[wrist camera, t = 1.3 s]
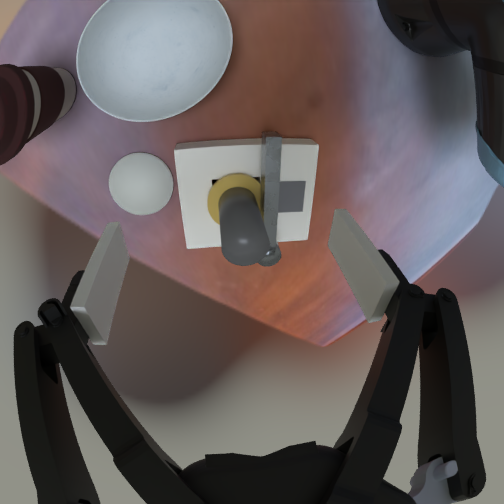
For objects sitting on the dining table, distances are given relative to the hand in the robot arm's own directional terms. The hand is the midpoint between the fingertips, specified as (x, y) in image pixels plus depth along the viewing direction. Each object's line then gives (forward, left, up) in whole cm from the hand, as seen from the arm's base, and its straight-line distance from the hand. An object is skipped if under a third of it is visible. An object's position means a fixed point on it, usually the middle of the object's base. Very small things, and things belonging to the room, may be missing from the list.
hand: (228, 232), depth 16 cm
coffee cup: (+21, -10, -21) cm, 31 cm away
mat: (+11, +5, -21) cm, 24 cm away
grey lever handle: (-5, +6, -16) cm, 18 cm away
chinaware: (+6, -12, -21) cm, 25 cm away
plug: (-2, +7, -21) cm, 22 cm away
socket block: (-3, +7, -21) cm, 22 cm away
